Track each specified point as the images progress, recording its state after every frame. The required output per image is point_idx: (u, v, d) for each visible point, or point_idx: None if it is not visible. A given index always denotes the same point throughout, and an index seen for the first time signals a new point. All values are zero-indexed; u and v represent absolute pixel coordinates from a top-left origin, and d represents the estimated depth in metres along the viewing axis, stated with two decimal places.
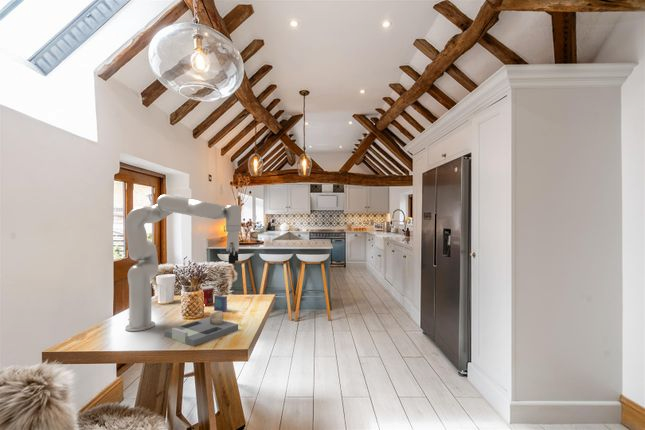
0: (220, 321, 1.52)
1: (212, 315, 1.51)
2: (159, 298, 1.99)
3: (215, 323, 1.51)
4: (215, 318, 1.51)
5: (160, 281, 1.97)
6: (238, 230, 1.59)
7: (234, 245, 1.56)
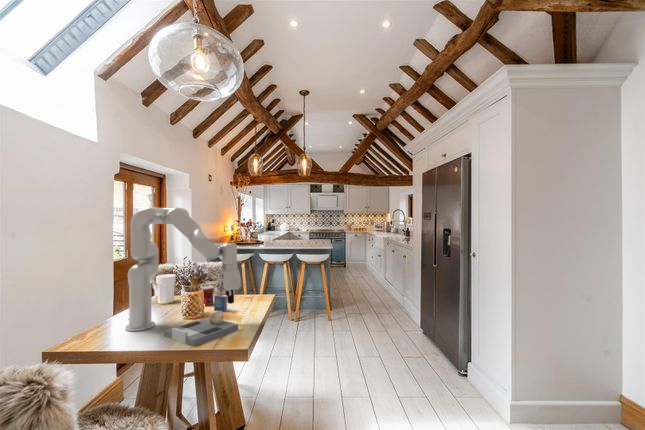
0: (220, 321, 1.52)
1: (212, 315, 1.51)
2: (159, 298, 1.99)
3: (215, 323, 1.51)
4: (215, 318, 1.51)
5: (160, 281, 1.97)
6: None
7: None
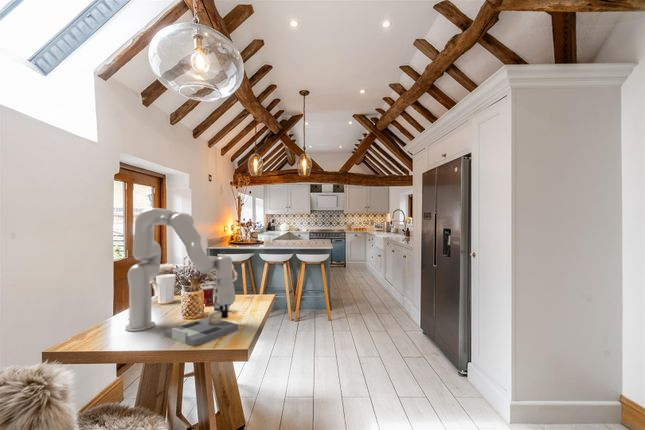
0: (218, 321, 1.51)
1: (210, 315, 1.50)
2: (159, 298, 1.99)
3: (213, 323, 1.50)
4: (214, 318, 1.50)
5: (160, 281, 1.97)
6: None
7: None
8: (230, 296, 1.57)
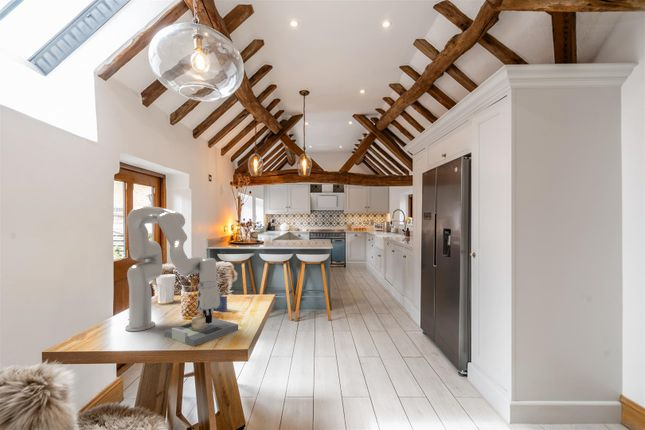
0: (202, 327, 1.43)
1: (193, 321, 1.42)
2: (159, 298, 1.99)
3: (196, 330, 1.42)
4: (196, 324, 1.42)
5: (160, 281, 1.97)
6: None
7: None
8: (214, 300, 1.49)
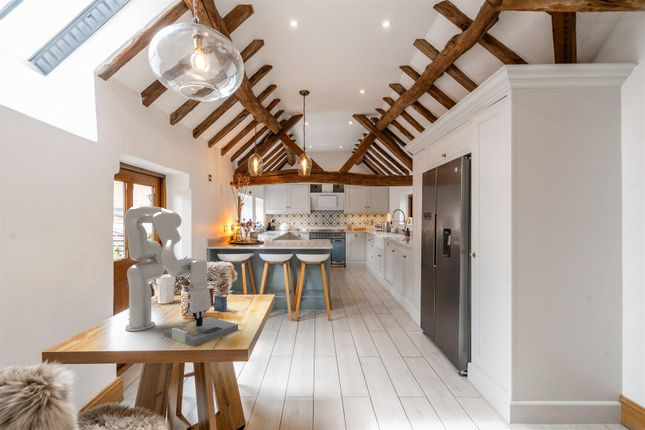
0: (192, 331, 1.38)
1: (183, 324, 1.38)
2: (159, 298, 1.99)
3: None
4: (187, 328, 1.37)
5: (160, 281, 1.97)
6: None
7: None
8: (205, 302, 1.45)
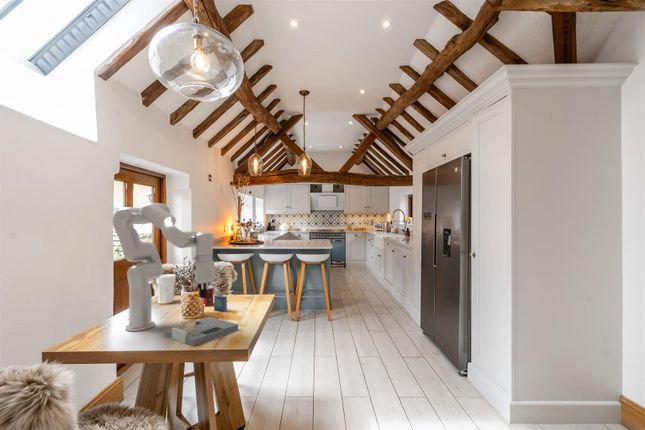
0: (192, 331, 1.38)
1: (183, 325, 1.37)
2: (159, 298, 1.99)
3: None
4: (186, 328, 1.37)
5: (160, 281, 1.97)
6: None
7: None
8: (209, 275, 1.48)
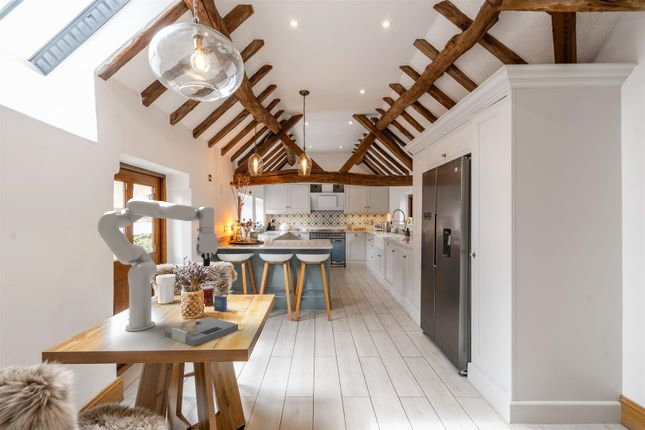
0: (192, 331, 1.38)
1: (183, 325, 1.37)
2: (159, 298, 1.99)
3: None
4: (186, 328, 1.37)
5: (160, 281, 1.97)
6: None
7: None
8: (212, 245, 1.62)
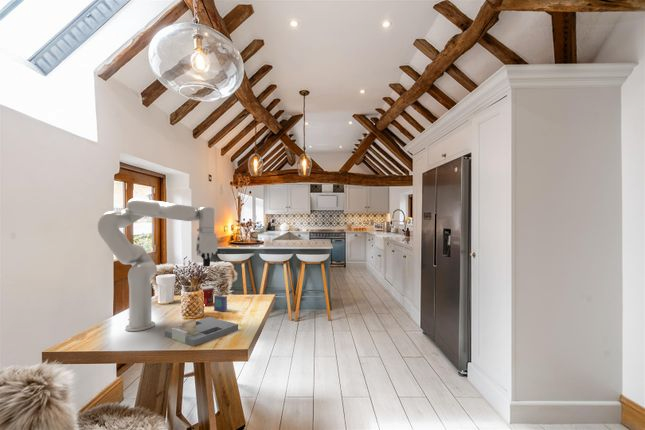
0: (192, 331, 1.38)
1: (183, 325, 1.37)
2: (159, 298, 1.99)
3: None
4: (186, 328, 1.37)
5: (160, 281, 1.97)
6: None
7: None
8: (212, 245, 1.62)
